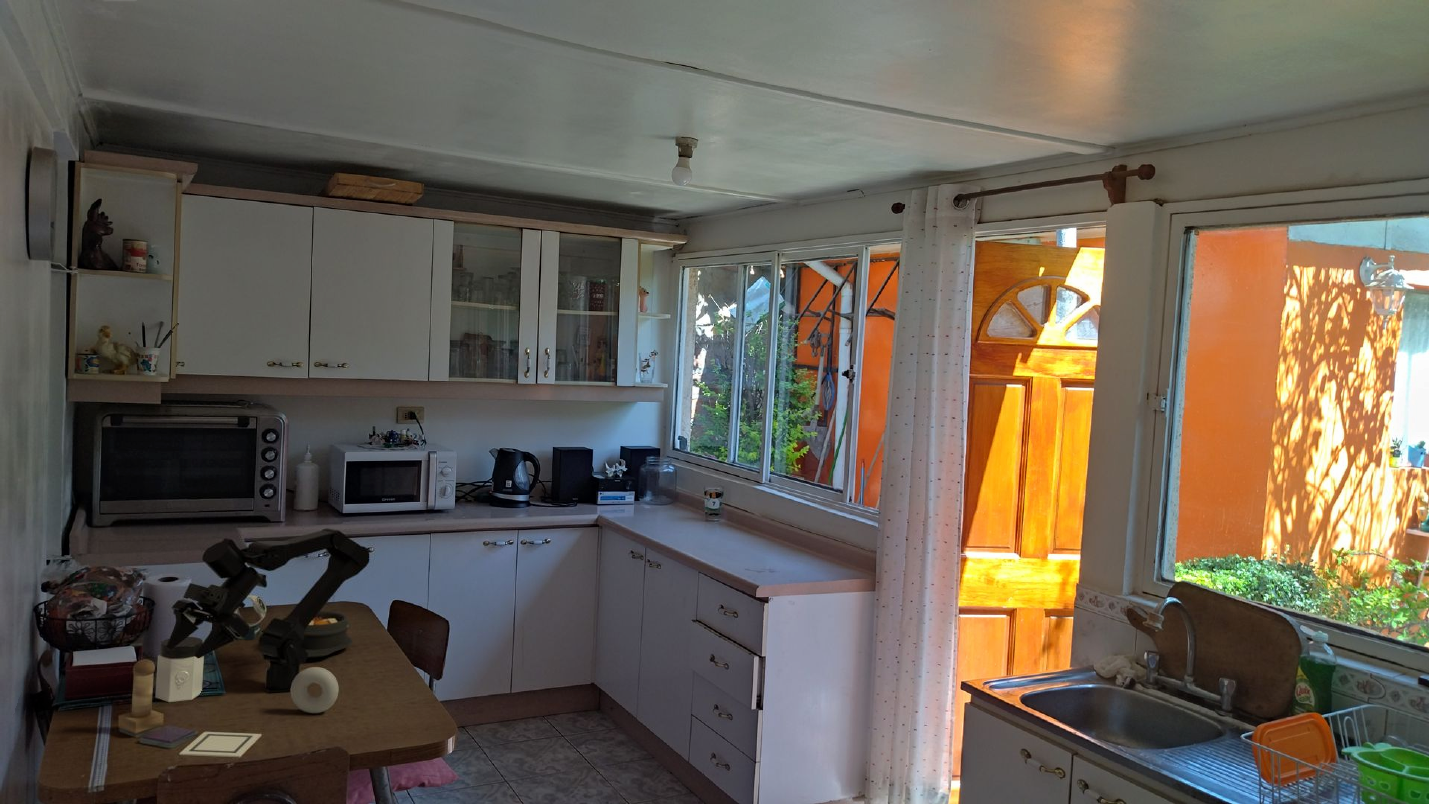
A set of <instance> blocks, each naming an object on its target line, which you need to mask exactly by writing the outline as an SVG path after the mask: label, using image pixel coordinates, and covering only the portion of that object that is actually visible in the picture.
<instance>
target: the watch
mask: <svg viewBox="0 0 1429 804" xmlns="http://www.w3.org/2000/svg"><path fill="white" fill-rule="evenodd" d="M246 599H250V601H251V602H252V606H253V609H254V611H255V612H256V613H257V614H258V615H259V617H260V619H259V621H257V622H246V621H245V622H246V623H247V624H248V625H249V633H248V634H247V635H246V636H245V638H244V639H240V638H237V637H236V638H237V639H238V640H240V641H244V640H245V641H254V640H256V639H257V637H259V636H261V623H262V620H263V619H264V618H265V616H266V613H267V612H268V611H267V609H268V608H267V606H266V603H265V601H264V600H263V599H262V598H261V597H260V596H257V595H253V594H249V595H248V596H247V597H246ZM234 613H235V614H238V615H239V616H240V617H241V618H242V619H243V620H244V618H243V617H242V615H241V613H240V608H237V610H236V611H235V612H234ZM263 621H264V620H263ZM238 640H237V641H238Z"/></svg>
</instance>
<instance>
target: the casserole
mask: <svg viewBox="0 0 1429 804" xmlns="http://www.w3.org/2000/svg"><path fill="white" fill-rule="evenodd" d="M350 627H351V624H350V622H349V621H348V618H347V616H345V615H344V614H342V613H339V612H336V611H335V612H334V611H324V610H320V611H319V613H318V614H317V615H316V616H315V618H314V619H313V620H312V621H311V622H310V624H309V625H308V626H307V627H306V629H305V633H304V639H303V642H302V644H301V645H300V646H301V647H302V648H303V649H304V650H305V651H306V652H307V653H308V656H307V658H320V657H322V658H323V657H326V656H329V655H330V654H333V653H335V652H338V651H342V650H343V649H347V648H348V647H350V646H351V645H352V644H353V639H352V638H351V637H349V635H348V633H347V632H348V630H349V629H350Z"/></svg>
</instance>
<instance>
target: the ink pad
mask: <svg viewBox="0 0 1429 804" xmlns="http://www.w3.org/2000/svg"><path fill="white" fill-rule="evenodd" d="M198 732H199V731H198V730H195V729H189V728H183V727H177V726H173V725H172V726H171V725H166V726H164V727H161V729H159V730H157V731H154V732H152V733H150V734H146V735H143V736H140V737H139V744H144V745H148V746H155V747H158V748H165V749H169V748H171V749H173V748H175V747H177V746H180V745H181V743H182V744H184V743H186V742H188V741H189V740H192V739H194V738H198V734H199V733H198Z"/></svg>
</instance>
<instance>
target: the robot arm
mask: <svg viewBox="0 0 1429 804" xmlns="http://www.w3.org/2000/svg"><path fill="white" fill-rule="evenodd" d="M323 550H325V551H326V552H327V554H328V555H330V556H329V557H328V561H327V567H326V568H327V569H326V570H325V571H324V573H322V575H320V578H318V580H317V581H316V582H315V583H314V584H313V586H311V588H310V589H309V590H308V591H307V593H306V594H305V595H304V597H302V598H301V600H300V601H299V602H298V603H297V605H296V606H295V607H294V608H293V609H292V611H291V612H290V613H289V614H288V615H287V616H286V617H284V618H282V619H281V618H278V617H274V618H273V619H271V621H269V624H268V625H267V626H266V627H265V628H264V629H262V630H261V632H262V634H260V635H259V636H260V637H259V638H258V649H259V651H260V652H261V654H262V658H263V660H264V661H269V662H268V666H266V668H265V683H264V684H265V685H264V686H265V688H266V690H267V693H271V694H272V693H282V692H283V693H285V692H291V691H290V689H291V685H292V682H293V680H294V679H295V677H296V675H298V674H299V673H300V666H301V664H305V663H306V662H307V658H308V657H307V656H308V653H307V652H306V651H305V650H304V649H303V648H302V647H301V646H300V645H301V644H302V642H303V639H304V633H305V629H306V627H307V626H308V625H309V624H310V622H311V621H312V620H313V619H314V618H315V616H316V615H317V614H318V613H319V611H322V609H323V608H324V606H325V605H326V604H327V603H328V602H329V601H330V599H331V598H332V597H333V596H334V594H335V593H336V592H337V591H338V589H339V588H340V587H341V586H342V585H343V583H344V582H345V581H347V580H349V579H351V578H353V577H355V576H357V575H359V574H360V573H361V571H363V570H364V569H365V568H366V567H367V566H368V565H369V563H370V551H369V549H368V548H367V547H366V546H363V545H360V544H359V543H357V542H355V541H354V540H352V539H351V538H349V537H348V536H347V535H345V534H344V533H343V532H341V530H339V529H333V528H330V527H328V528H323V529H322V530H319V531H318V530H317V531H315V532H312V533H308V534H303V535H299V536H295V537H292V538H289V539H285V540H260V541H259V540H258V541H253V542H251V543H249V544H248V547H244V548H239V547H238V545H237V544H236V542H235V541H234V540H233V539H232V538H227V537H225V538H223V540H222V541H219V542H217V543H214V544H212V545H211V546H210V547H208V548H206V550H204V552H203V555H202V556H201V557H202V559H201V560H202V561H203V563H205V564H206V566H208V568H209V569H210V570H211V571H212V572H213V573H214V574H215V575H217V577H218V578H220V579H225V580H224V582H222V583H221V584H220V585H215V584H210V585H209V586H208V587H206V586H202V585H199V584H195V583H191V582H189V584H188V586H187V589H186V590H185V593H184V595H183V599H178V600H177V601H175V603H174V604H173V605H172V607H171V609H172V610H173V611H172V613H173V614H174V616H175V623H174V626H173V629H172V633H171V635H170V637H169V638H168V639H169V641H168V643H167V646H166V647H167V648H168V649H169V650H171V649H172V648H174V647H175V646H177V645H178V644H179V643H180V642H182V641H183V640H184V639H186V638H187V637H190V636H191V635H192V634H193V633H195V632H196V631H197V630H198V629H199V627H198V626H200V625H202V624H203V623H204V622H207V623H210V624H211V625H212V626H211V631H210V633H209V634H208V636H207V637H206V638H205V639H204V641H203V644H202V645H201V646H200V648H199V649H198V651H197V652H196V654H195V657H196V658H201V657H203V656H204V657H205V656H206V655H208V654H210V653H212V652H214V651H216V650H218V649H220V648H223V646H226V645H228V644H230V643H232V642H237V641H238V639H237V638H240V639H244V638H245V636H246V635H247V634H248V633H249V625H248V624H247V623H246V621H245V620H244V618H243V617H242V618H243V619H242V618H241V617H240V616H239V615H238V614H235V613H234V612H235V611H236V610H237V608H238V609H242V610H243V608H245V607H246V603H244V601H245V600H246V599H247V598H246V597H247V596H248V595H251V593H252V592H253V590H254V589H255V588H256V587H260V588H264V589H265V588H267V587H268V582H267V575H266V574H263V573H260V572H258V571H257V569H259V570H264V571H266V572H273V571H276V570H277V569H280V568H282V567H283V566H285V565H287V564H288V562H289V561H290V560H293V559H296V558H299V557H302V556H306V555H310V554H313V553H316V552H320V551H323ZM255 568H256V569H255ZM187 599H190V600H187ZM191 600H192V601H191ZM194 601H195V602H196V603H195V602H194ZM236 637H237V638H236Z"/></svg>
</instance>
